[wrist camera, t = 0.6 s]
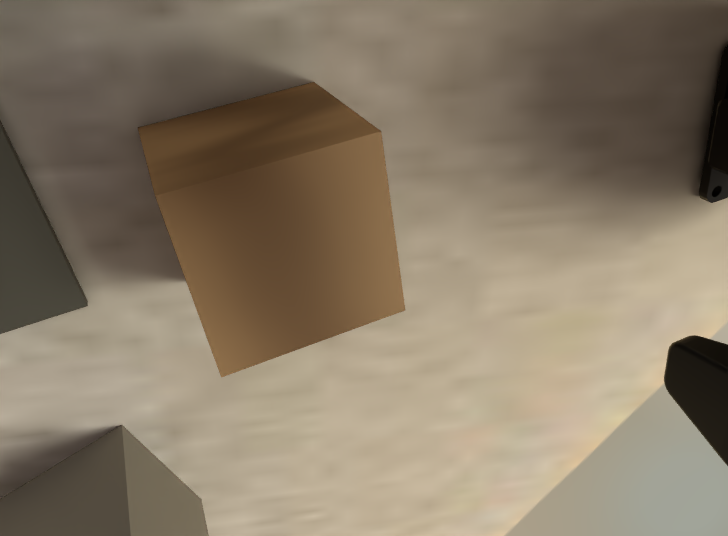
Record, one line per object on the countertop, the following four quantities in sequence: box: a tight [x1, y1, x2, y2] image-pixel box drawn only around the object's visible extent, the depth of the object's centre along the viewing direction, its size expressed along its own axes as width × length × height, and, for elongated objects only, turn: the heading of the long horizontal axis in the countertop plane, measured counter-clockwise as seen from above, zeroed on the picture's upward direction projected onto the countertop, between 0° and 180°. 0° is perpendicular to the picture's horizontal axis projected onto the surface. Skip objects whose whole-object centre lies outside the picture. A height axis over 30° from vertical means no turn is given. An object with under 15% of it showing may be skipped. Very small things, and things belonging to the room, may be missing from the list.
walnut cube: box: [138, 82, 405, 377], centre depth 16 cm, size 5×5×5 cm
